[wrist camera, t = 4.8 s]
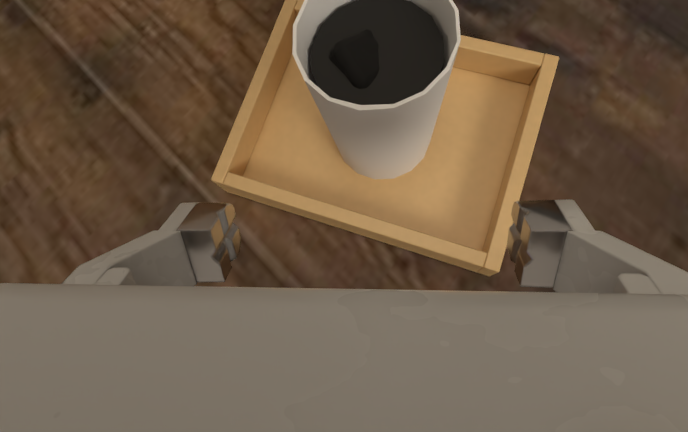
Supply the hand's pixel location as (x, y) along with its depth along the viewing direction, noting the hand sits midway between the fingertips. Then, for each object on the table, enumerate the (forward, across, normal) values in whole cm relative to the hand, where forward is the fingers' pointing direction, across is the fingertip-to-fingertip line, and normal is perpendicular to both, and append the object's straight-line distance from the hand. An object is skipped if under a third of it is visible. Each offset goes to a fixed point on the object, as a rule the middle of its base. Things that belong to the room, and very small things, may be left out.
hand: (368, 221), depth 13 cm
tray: (+15, 0, +3) cm, 15 cm away
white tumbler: (+15, 0, +3) cm, 15 cm away
